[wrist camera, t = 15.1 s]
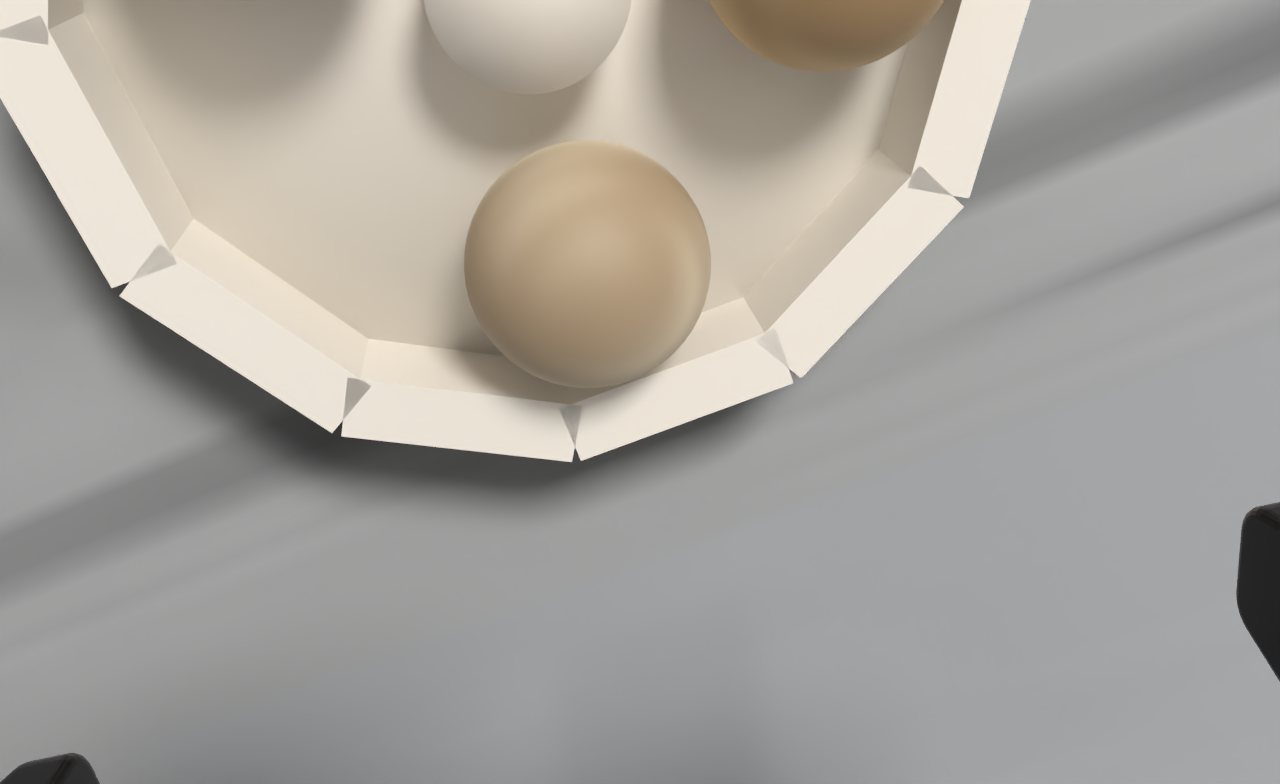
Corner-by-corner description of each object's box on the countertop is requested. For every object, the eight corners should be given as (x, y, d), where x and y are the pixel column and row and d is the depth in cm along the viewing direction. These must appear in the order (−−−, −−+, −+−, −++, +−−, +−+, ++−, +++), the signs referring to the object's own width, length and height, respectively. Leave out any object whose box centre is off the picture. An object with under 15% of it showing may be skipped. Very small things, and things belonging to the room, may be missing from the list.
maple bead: (720, 246, 20) (789, 321, 17) (548, 377, 20) (584, 476, 17) (591, 69, 18) (640, 115, 15) (407, 215, 19) (416, 291, 15)
